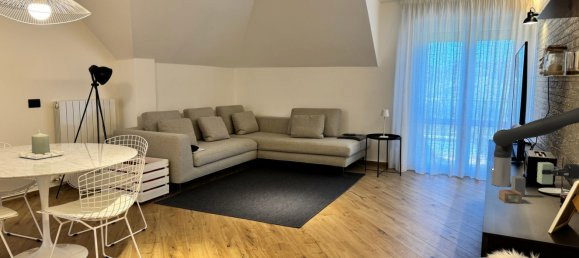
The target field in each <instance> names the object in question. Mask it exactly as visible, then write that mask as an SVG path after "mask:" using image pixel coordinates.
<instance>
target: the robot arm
mask: <svg viewBox="0 0 579 258" xmlns="http://www.w3.org/2000/svg"><path fill="white" fill-rule="evenodd" d="M574 124H575V125H576V124H579V106H578V107H575V108H572V109H570V110H568V111H565V112H562V113H557V114H554V115H550V116H547V117H541V118H538V119H535V120H533V121H532V120H531V121H530V122H526V123H525V124H522V125H520V126H516V127H513V128H508V129H504V128H503V129H499V130H497V131H496V132H494V133H493V136H492V141H493V143H494V144H495V147H494V152H493V166H492V167H493V168H492V169H491V181H490V182H491V185H493V186H496V187H503V188H507V187H511V181H512V154H513V146H514V142H515V143H516V142H518V141H521V140H526V139H528V140H529V139H533V138H539V137H544V136H547V135H550V134H553V133H555V132H557V131H559V130H561V129H563V128H565V127H567V126H571V125H574ZM536 172H538V167H536ZM542 174H546V175H550V174H551V175H553V177H564V178H565V179H567V180H579V163H565V164H564V166H563V167H561V166H556V165H554V168H553V170H542Z"/></svg>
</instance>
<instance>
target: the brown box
mask: <svg viewBox="0 0 579 258" xmlns="http://www.w3.org/2000/svg"><path fill="white" fill-rule="evenodd" d="M498 199H499V200H500V201H501V202H502V203H504V204H522V201H523V200H522V199H523V197H522V194H521V193H520V192H518V191H516V190H511V189H498Z"/></svg>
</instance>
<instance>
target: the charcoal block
mask: <svg viewBox="0 0 579 258" xmlns="http://www.w3.org/2000/svg"><path fill="white" fill-rule="evenodd" d="M510 190H516V191H518V192H520V193H521V194H522V198H525V197H526V178H525V177H524V176H521V175H520V176H519V175H517V176H516V175H511V183H510Z"/></svg>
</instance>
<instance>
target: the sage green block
mask: <svg viewBox="0 0 579 258" xmlns="http://www.w3.org/2000/svg"><path fill="white" fill-rule="evenodd" d="M554 166H555V165H554V163H552V162H548V161H545V162H544V161H543V162H542V161H540V162H539V161H538V162H537V168H538V172H537V171H536V172H537V174H536V176H537V177H536V182H537V183H539V184H541V185H553V184H554V183H553V182H554V175H551V174H550V175H546V174H542V170H553V168H554Z"/></svg>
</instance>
